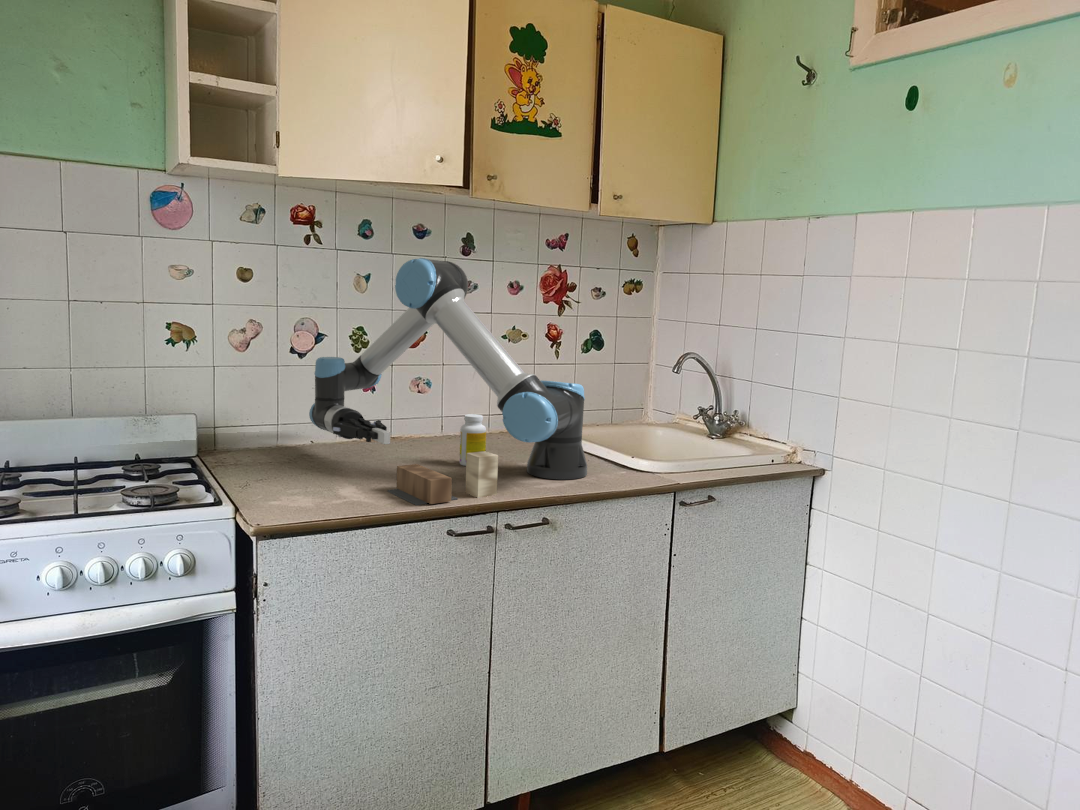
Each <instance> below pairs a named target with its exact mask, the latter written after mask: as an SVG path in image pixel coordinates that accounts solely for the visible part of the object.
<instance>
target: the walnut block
mask: <svg viewBox="0 0 1080 810" xmlns="http://www.w3.org/2000/svg"><path fill="white" fill-rule="evenodd" d="M452 484H453V478H452V477H450V476H447V475H446V474H443V473H441V472H438V471H436V470H433V469H432V468H431V469H430V468H429V467H426V466H423V465H420V464H418V463H413V464H405V465H404V464H403V465H397V466H396V489H399V490H402V491H404V492H406V493H408V494H410V495H412V496H414V497H416V498H418V499H420V500H423V501H425V502H427V503H429V504H428V505H434V504H440V503H448V502H452V500H451V495H452V487H453V486H452Z"/></svg>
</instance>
